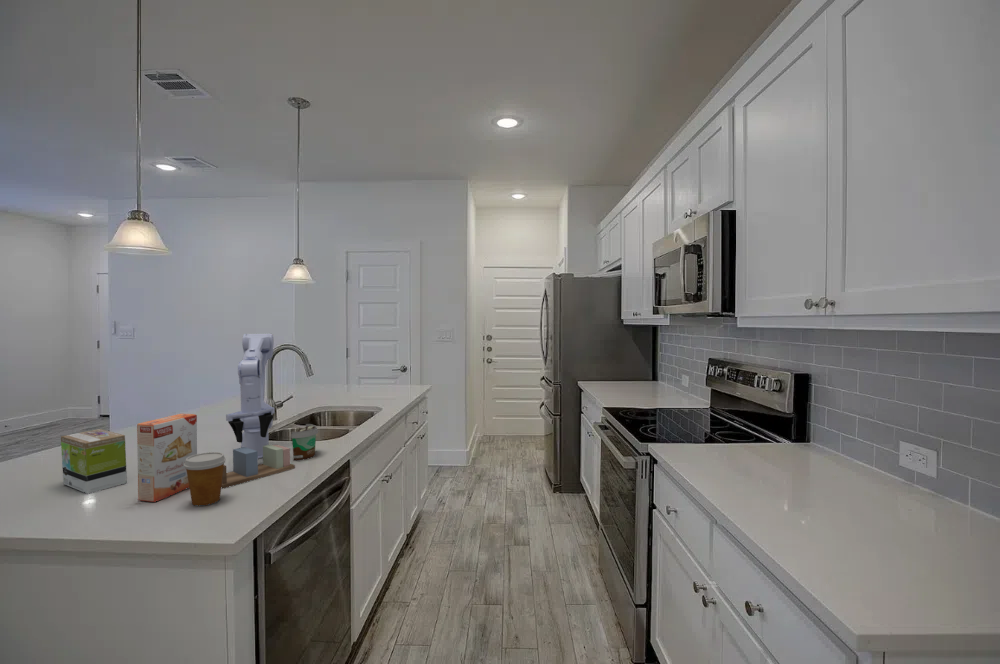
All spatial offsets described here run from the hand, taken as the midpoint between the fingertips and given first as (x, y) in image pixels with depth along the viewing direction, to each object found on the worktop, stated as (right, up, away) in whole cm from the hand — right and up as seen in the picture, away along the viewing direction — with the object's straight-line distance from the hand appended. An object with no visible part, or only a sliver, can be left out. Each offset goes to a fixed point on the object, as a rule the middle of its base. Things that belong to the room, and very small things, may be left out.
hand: (251, 439), depth 154 cm
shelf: (+3, -10, -6) cm, 12 cm away
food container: (+13, -9, +13) cm, 21 cm away
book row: (+8, -8, +1) cm, 11 cm away
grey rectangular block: (+2, -9, -7) cm, 11 cm away
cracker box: (-12, -11, -20) cm, 26 cm away
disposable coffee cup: (+2, -11, -27) cm, 29 cm away
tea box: (-38, -10, -14) cm, 42 cm away
